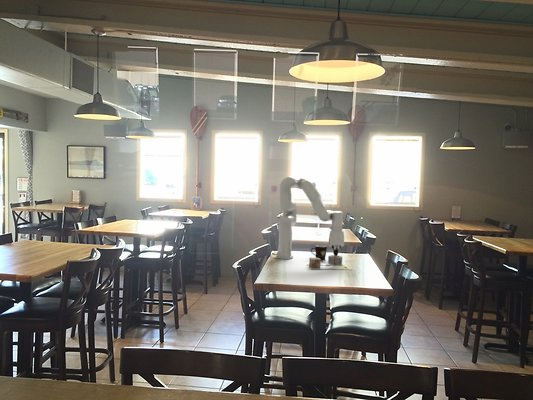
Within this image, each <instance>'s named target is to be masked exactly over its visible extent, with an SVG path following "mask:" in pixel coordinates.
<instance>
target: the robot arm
mask: <svg viewBox="0 0 533 400" xmlns="http://www.w3.org/2000/svg"><path fill="white" fill-rule="evenodd" d="M316 186H317V185H316V182H315V180H312V179H308V178H305V177H301V176H297V175H296V176H295V175H294V176H293V175H288V176H286V177H284V178H283V179H282V180H281V181H280V184H279V209H280V211H281V212H282V213H283V215H281V216H280V217H279V218H278V247H277V248H278V249H277V251H275V252H274V251H271V255H272V256H273V255H274V256H275V258H277V259H280V260H291V259H293V258H294V256H293V255H292V246H293V245H292V244H293V243H292V241H293V230H292V229H293V228H292V227H293V226H295V225H296V223H297V204H296V201H294V200H293V199H292V190H291V189H298V190H302V191H303V192H304V194H305V195H306V198H307V199H308V201H309V202H310V204H311V206H312V209H313V211H314V213H315V214H316V216H317V217H318V219H319V220H320V221H321V222H330V221H331V226H330V227H329V229H330V231H329V236H328V247H329V248H332V249H333V250H332V251H333V254H332V255H337V256H339V250H340V249H341V248H344V245H345V233H344V230H343V224H344V223H343V221H344V213H343V211H341V210H334V211H333V210H329V209H327V208H326V207H325V206H324V204H323V202H322V201H323V200H322V196H321V194H320V192H319V191H318V189H317V188H316Z"/></svg>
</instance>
